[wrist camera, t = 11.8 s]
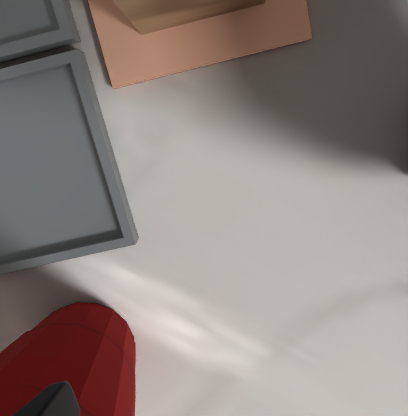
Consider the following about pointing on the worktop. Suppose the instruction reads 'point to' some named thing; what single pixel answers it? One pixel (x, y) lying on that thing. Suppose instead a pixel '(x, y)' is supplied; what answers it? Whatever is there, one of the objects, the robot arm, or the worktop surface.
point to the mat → (194, 39)
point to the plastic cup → (73, 361)
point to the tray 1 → (35, 27)
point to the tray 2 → (56, 167)
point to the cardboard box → (176, 11)
